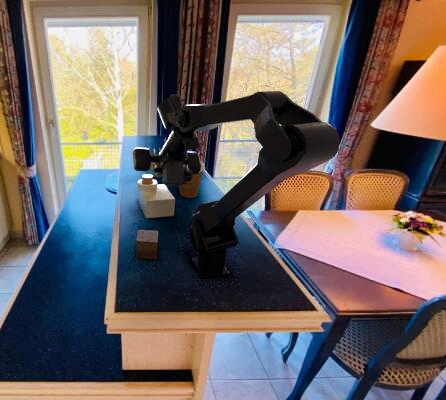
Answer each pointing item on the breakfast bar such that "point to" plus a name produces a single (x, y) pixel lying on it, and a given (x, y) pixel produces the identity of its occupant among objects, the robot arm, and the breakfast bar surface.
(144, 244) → the brown cube
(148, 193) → the white box
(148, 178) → the release button
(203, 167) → the disposable coffee cup
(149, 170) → the cupcake
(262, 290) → the breakfast bar surface
